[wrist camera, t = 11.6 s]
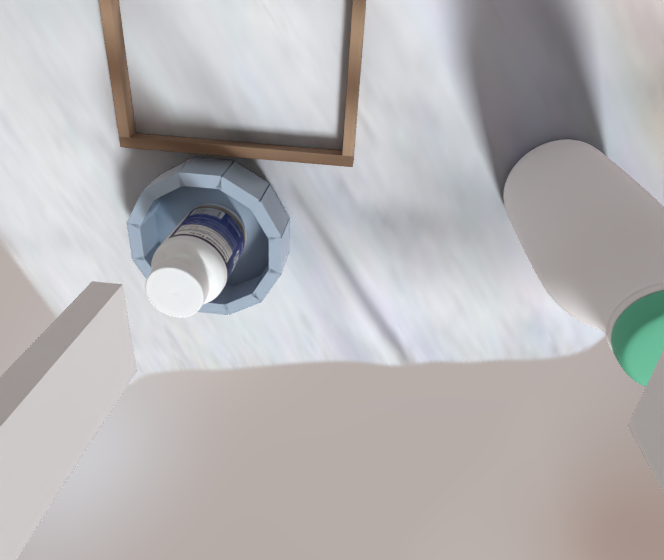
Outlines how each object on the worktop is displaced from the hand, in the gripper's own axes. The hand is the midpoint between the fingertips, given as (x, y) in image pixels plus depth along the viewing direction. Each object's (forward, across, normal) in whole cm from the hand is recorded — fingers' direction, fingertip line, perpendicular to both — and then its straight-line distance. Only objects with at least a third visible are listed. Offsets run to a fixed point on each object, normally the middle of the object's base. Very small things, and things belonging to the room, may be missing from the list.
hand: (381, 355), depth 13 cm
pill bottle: (+28, -13, -11) cm, 33 cm away
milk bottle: (+29, +13, -5) cm, 32 cm away
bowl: (+29, -13, -11) cm, 33 cm away
